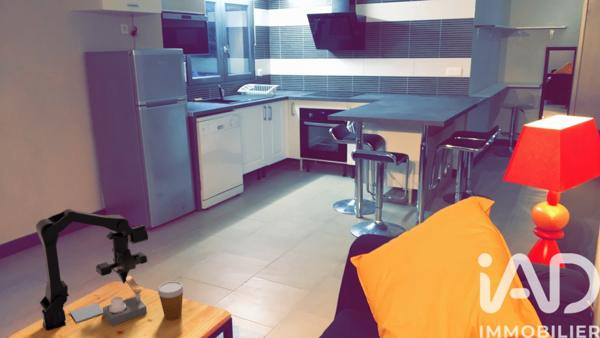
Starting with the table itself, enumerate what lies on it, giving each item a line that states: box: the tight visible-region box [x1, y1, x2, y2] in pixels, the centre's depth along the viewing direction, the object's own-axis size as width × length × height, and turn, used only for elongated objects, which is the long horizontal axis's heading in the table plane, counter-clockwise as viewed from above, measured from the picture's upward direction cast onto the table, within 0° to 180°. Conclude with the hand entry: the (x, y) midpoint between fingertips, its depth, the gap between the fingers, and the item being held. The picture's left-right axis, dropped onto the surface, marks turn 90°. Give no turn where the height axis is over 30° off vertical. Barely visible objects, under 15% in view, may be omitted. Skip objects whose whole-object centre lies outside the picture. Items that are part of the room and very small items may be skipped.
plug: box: [109, 296, 126, 314], centre depth 175 cm, size 6×6×7 cm
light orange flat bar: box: [125, 275, 142, 295], centre depth 184 cm, size 14×3×1 cm, turn 36°
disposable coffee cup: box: [157, 280, 185, 321], centre depth 175 cm, size 10×10×12 cm
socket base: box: [102, 292, 148, 326], centre depth 177 cm, size 13×10×7 cm
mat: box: [69, 302, 104, 324], centre depth 178 cm, size 10×9×1 cm
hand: (123, 283), depth 187 cm, fingers closed
